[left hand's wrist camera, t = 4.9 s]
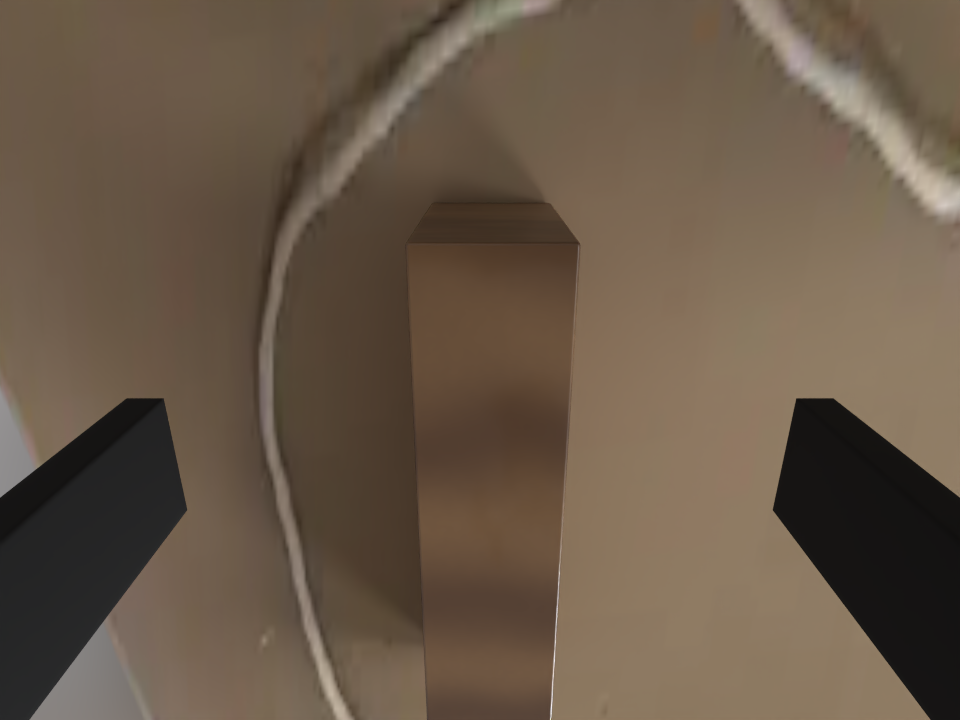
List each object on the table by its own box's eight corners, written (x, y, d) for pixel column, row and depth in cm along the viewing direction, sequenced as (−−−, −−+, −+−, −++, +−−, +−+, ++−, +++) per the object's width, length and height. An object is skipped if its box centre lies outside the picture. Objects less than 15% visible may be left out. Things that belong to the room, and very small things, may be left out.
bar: (431, 202, 26) (405, 242, 18) (551, 203, 26) (581, 242, 17) (444, 649, 35) (431, 813, 27) (531, 650, 35) (545, 814, 27)
